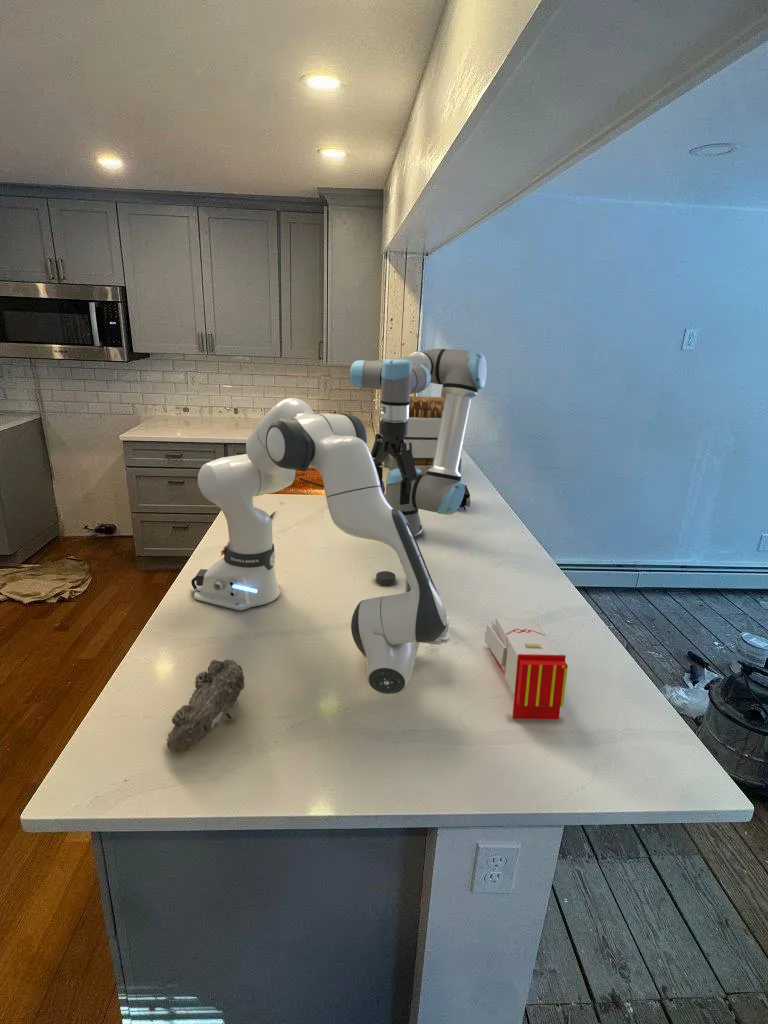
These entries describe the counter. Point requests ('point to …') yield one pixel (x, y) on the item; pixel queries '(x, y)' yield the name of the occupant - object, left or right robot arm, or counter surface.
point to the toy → (529, 667)
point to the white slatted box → (422, 430)
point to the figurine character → (465, 499)
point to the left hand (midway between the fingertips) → (408, 606)
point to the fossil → (206, 705)
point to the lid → (385, 578)
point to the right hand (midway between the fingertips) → (390, 496)
